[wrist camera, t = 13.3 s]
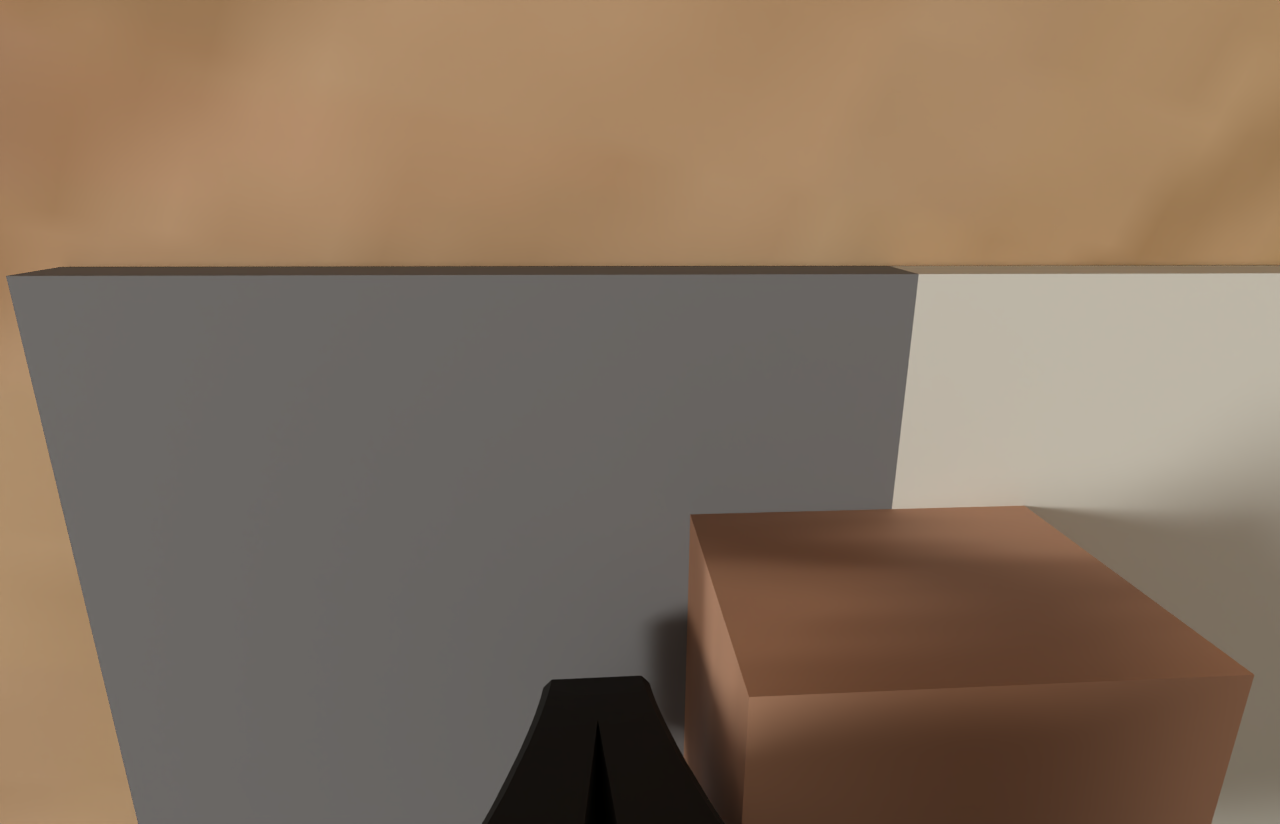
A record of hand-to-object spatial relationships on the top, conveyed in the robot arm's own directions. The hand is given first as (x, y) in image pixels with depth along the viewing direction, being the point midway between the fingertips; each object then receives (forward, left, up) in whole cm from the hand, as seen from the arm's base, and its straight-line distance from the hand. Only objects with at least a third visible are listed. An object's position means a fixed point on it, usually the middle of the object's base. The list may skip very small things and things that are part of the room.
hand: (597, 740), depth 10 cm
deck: (+4, 0, -2) cm, 5 cm away
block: (+4, 0, -2) cm, 4 cm away
